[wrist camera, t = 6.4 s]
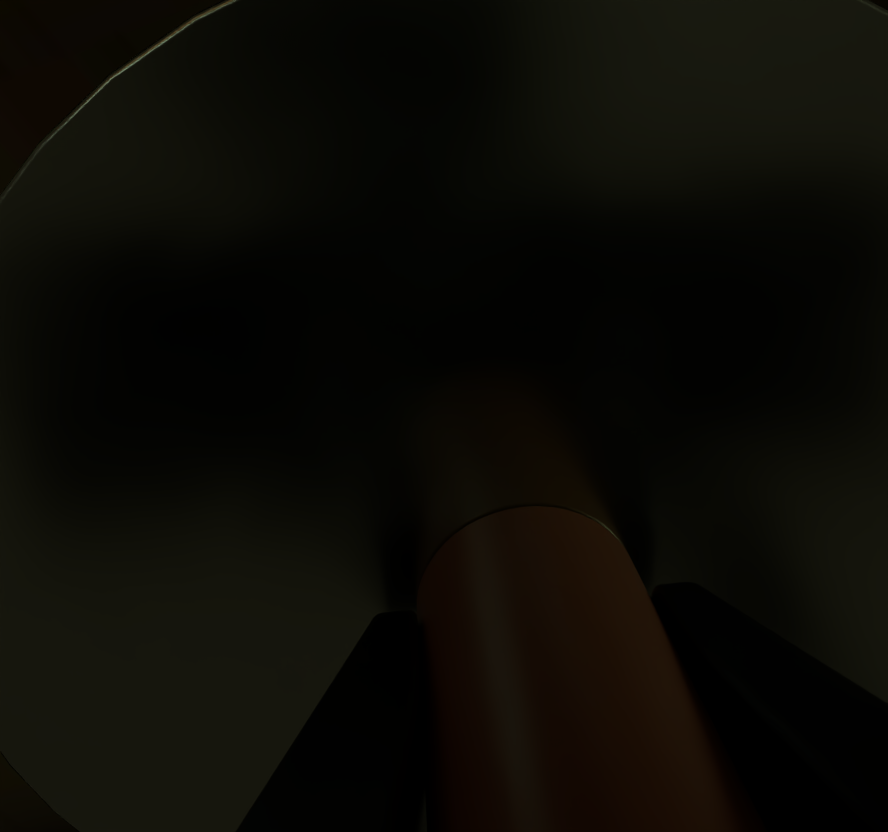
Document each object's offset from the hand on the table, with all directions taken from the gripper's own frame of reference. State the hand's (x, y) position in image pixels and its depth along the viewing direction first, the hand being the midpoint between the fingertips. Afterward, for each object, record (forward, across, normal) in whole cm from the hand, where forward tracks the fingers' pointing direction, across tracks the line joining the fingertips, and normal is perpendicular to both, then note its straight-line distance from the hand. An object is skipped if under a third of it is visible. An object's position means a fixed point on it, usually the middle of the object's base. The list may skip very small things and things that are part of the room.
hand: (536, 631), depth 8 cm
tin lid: (+1, 0, 0) cm, 1 cm away
